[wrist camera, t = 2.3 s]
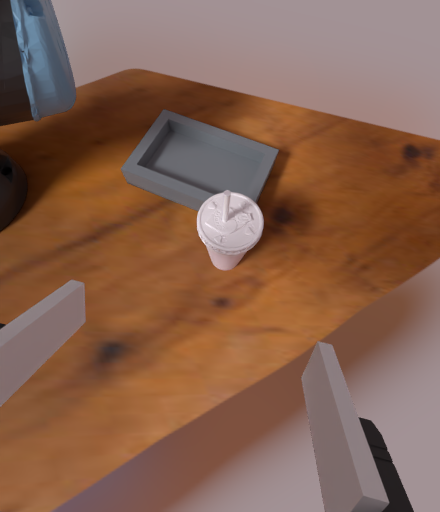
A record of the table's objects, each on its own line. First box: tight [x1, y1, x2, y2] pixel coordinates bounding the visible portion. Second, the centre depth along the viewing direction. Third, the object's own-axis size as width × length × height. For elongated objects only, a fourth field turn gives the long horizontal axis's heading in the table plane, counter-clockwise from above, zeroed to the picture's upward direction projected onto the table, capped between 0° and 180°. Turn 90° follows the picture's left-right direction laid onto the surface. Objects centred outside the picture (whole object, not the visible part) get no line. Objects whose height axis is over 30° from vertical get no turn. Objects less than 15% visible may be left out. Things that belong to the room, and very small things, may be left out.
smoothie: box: [197, 190, 264, 270], centre depth 27 cm, size 6×6×14 cm
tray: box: [121, 109, 279, 211], centre depth 36 cm, size 18×12×3 cm, turn 66°
